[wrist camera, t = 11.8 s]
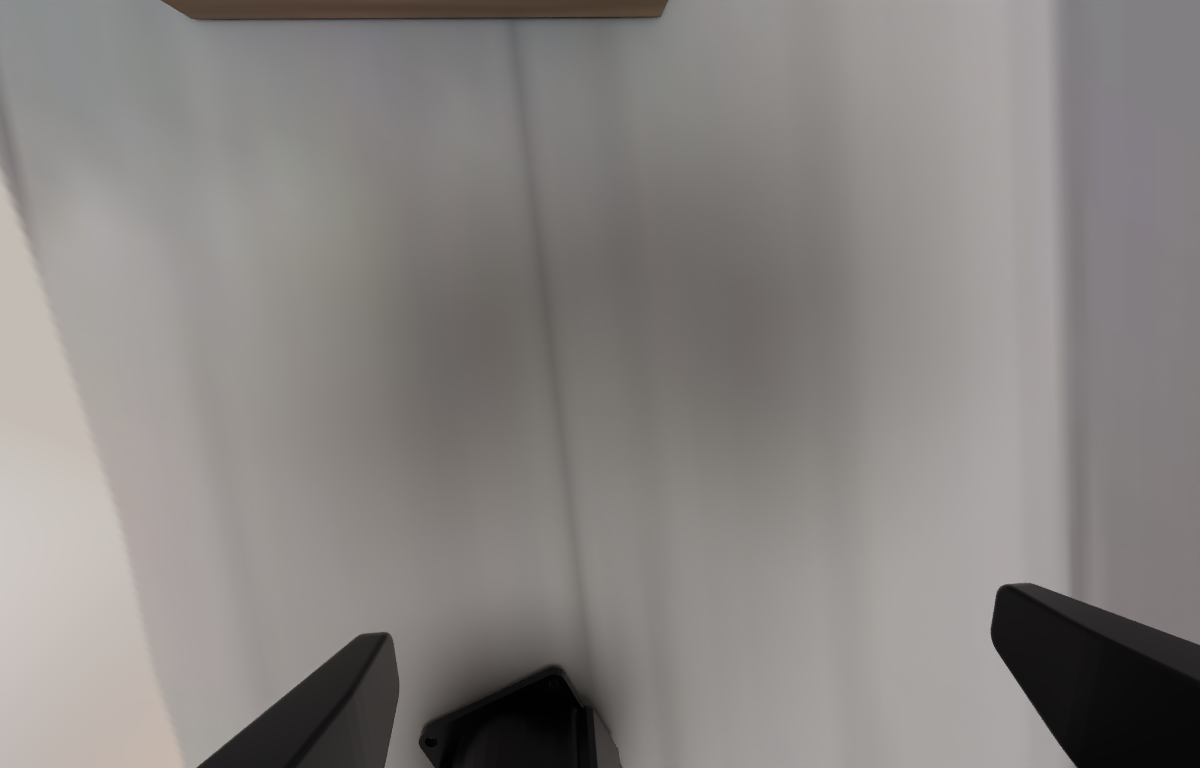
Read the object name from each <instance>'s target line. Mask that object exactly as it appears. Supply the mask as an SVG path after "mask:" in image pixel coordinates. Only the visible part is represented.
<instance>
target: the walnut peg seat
mask: <svg viewBox="0 0 1200 768" xmlns="http://www.w3.org/2000/svg"><path fill="white" fill-rule="evenodd" d="M161 1H163V2H165V3H166V4H168V5H170V6H171V7H173V8H175V9H176V10H178V11H180V12H181V13H183V14H185V15H186V16H188V17H190V18H191V19H272V18H464V17H656V16H661V14H662V12H663V10H664V8H665V6H666V4H667V2H668V0H161Z"/></svg>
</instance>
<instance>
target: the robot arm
mask: <svg viewBox="0 0 1200 768" xmlns="http://www.w3.org/2000/svg"><path fill="white" fill-rule="evenodd" d="M991 638H992V642H993V645H994V647H995V649H996V651H997V652H998V654H999V655H1000V657H1001V658H1002V660H1003V661H1004V663H1005V664H1006V666H1007V667H1008V669H1009V670H1010V672H1011V673H1012V675H1013V676H1014V678H1015V679H1016V681H1017V682H1018V684H1019V685H1020V687H1021V688H1022V690H1023V691H1024V693H1025V694H1026V696H1027V697H1028V699H1029V700H1030V702H1031V703H1032V705H1033V706H1034V708H1035V709H1036V711H1037V712H1038V714H1039V715H1040V717H1041V718H1042V720H1043V721H1044V723H1045V724H1046V726H1047V727H1048V729H1049V730H1050V732H1051V733H1052V734H1053V736H1054V737H1055V739H1056V740H1057V742H1058V743H1059V744H1060V746H1061V747H1062V749H1063V750H1064V751H1065V753H1066V754H1067V755H1068V757H1069V758H1070V759H1071V761H1072V762H1073V763H1074V765H1075V766H1076V767H1077V768H1200V645H1198V644H1195V643H1193V642H1190V641H1187V640H1184V639H1182V638H1179V637H1176V636H1174V635H1171V634H1168V633H1165V632H1163V631H1160V630H1157V629H1155V628H1152V627H1149V626H1146V625H1144V624H1141V623H1138V622H1136V621H1133V620H1130V619H1127V618H1125V617H1122V616H1119V615H1116V614H1114V613H1111V612H1108V611H1106V610H1103V609H1100V608H1097V607H1095V606H1092V605H1089V604H1087V603H1084V602H1081V601H1078V600H1076V599H1073V598H1070V597H1068V596H1065V595H1062V594H1059V593H1057V592H1054V591H1051V590H1049V589H1046V588H1043V587H1040V586H1038V585H1035V584H1032V583H1017V584H1005V585H1003V586H1001V587H1000V588H999V589H998V591H997V594H996V599H995V606H994V612H993V618H992V624H991ZM551 680H558V682H557V683H550V682H549V681H551ZM398 697H399V676H398V670H397V663H396V657H395V650H394V643H393V639H392V637H391V635H390V634H389V633H387V632H379V633H366V634H361V635H359V636H357V637H356V638H355V639H353V640H352V641H351V642H350V643H349V644H347V645H346V646H345V647H344V648H342V649H341V650H340V651H339V652H337V653H336V654H335V655H334V656H333V657H331V658H330V659H329V660H328V661H326V662H325V663H324V664H323V665H322V666H320V667H319V668H318V669H317V670H315V671H314V672H313V673H312V674H311V675H309V676H308V677H307V678H306V679H304V680H303V681H302V682H301V683H300V684H298V685H297V686H296V687H295V688H293V689H292V690H291V691H290V692H288V693H287V694H286V695H285V696H284V697H282V698H281V699H280V700H279V701H277V702H276V703H275V704H274V705H273V706H271V707H270V708H269V709H268V710H266V711H265V712H264V713H263V714H262V715H260V716H259V717H258V718H257V719H255V720H254V721H253V722H252V723H251V724H249V725H248V726H247V727H246V728H244V729H243V730H242V731H241V732H240V733H238V734H237V735H236V736H235V737H233V738H232V739H231V740H230V741H228V742H227V743H226V744H225V745H224V746H222V747H221V748H220V749H219V750H217V751H216V752H215V753H214V754H213V755H211V756H210V757H209V758H208V759H206V760H205V761H204V762H203V763H202V764H200V765H199V766H198V767H197V768H384V767H385V762H386V757H387V752H388V747H389V742H390V737H391V732H392V727H393V722H394V717H395V712H396V707H397V702H398ZM429 737H435V738H436V739H430V738H429ZM419 745H420V747H421V749H422V750H423V752H424V753H425V754H426V756H427V757H428V759H429V760H430V761H431V763H432V764H433V766H434V767H435V768H622V767H621V765H620V760H619V752H618V749H617V747H616V745H615V744H614V742H613V740H612V738H611V737H610V735H609V733H608V732H607V730H606V728H605V727H604V725H603V723H602V722H601V720H600V718H599V717H598V715H597V713H596V712H595V710H594V708H592V707H590V706H588V705H586V706H585V705H584V704H583V702H582V700H581V699H580V697H579V695H578V694H577V692H576V690H575V689H574V687H573V685H572V684H571V682H570V680H569V679H568V677H567V676H566V674H565V672H564V671H563V670H562V669H559V668H555V667H552V668H549V669H546V670H544V671H542V672H540V673H538V674H536V675H534V676H531V677H529V678H527V679H525V680H523V681H521V682H519V683H516V684H514V685H512V686H510V687H508V688H506V689H504V690H501V691H499V692H497V693H495V694H493V695H491V696H489V697H486V698H484V699H482V700H480V701H478V702H476V703H474V704H471V705H469V706H467V707H465V708H463V709H461V710H459V711H456V712H454V713H452V714H450V715H448V716H446V717H444V718H441V719H439V720H437V721H435V722H433V723H431V724H429V725H427V726H425V727H424V728H423V729H422V731H421V734H420V738H419Z"/></svg>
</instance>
